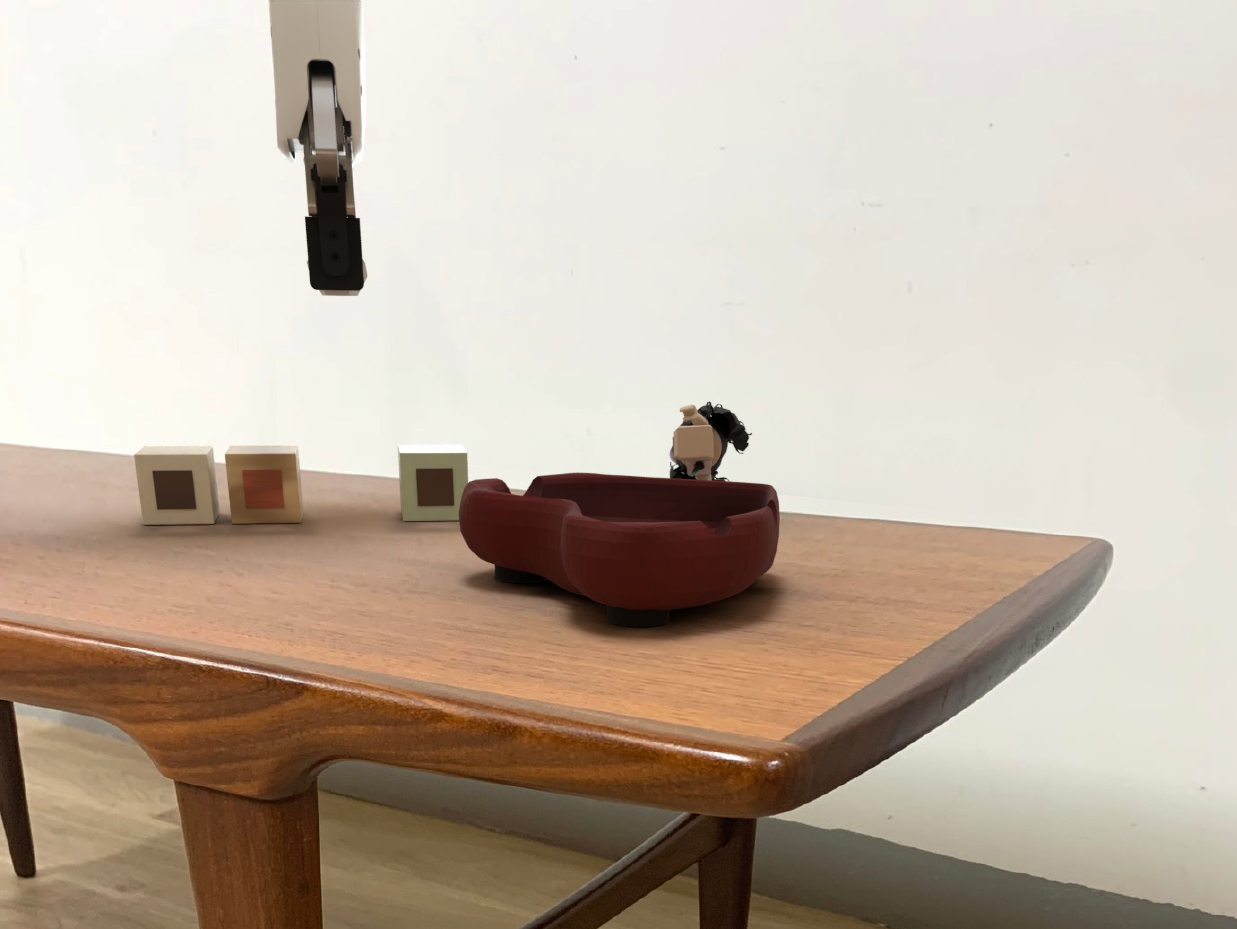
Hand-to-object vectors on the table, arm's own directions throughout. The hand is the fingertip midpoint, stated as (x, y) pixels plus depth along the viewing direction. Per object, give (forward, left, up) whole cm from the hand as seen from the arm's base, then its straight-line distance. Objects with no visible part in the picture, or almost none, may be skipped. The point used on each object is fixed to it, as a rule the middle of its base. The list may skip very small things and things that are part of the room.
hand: (337, 286), depth 83 cm
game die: (0, 0, -1) cm, 1 cm away
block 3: (+5, +2, -14) cm, 15 cm away
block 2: (-6, +2, -14) cm, 15 cm away
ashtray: (+15, -23, -15) cm, 31 cm away
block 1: (-11, +2, -14) cm, 18 cm away
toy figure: (+23, +6, -11) cm, 26 cm away
